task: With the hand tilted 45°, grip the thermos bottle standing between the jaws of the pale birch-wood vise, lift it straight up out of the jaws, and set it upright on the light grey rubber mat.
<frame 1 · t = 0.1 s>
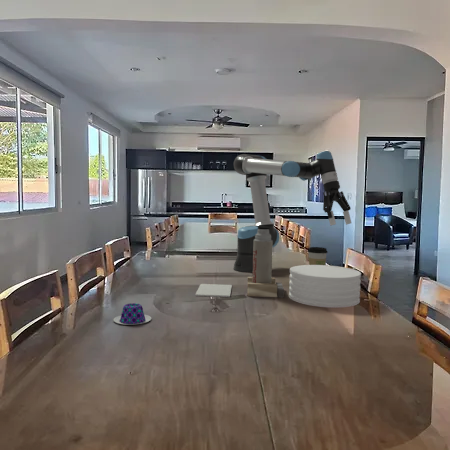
hand: (341, 224, 204), 28 cm above the table, tool tilted 20°, fingers open, 13 cm apart
pudding: (132, 321, 138), on the table
thermos bottle: (261, 292, 180), resting in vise
grey mat: (214, 290, 181), on the table
coffee cup: (316, 277, 215), on the table
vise: (261, 292, 180), on the table
plate stack: (323, 299, 173), on the table
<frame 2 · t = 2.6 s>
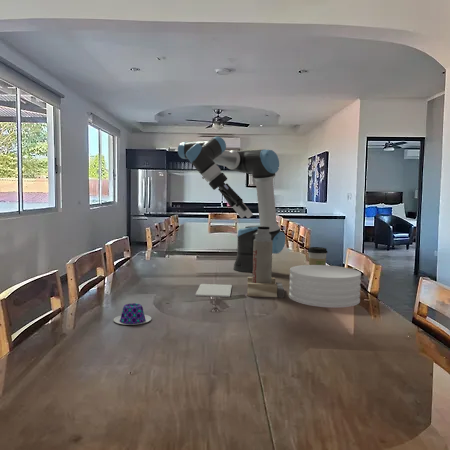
hand: (247, 216, 178), 32 cm above the table, tool tilted 40°, fingers open, 13 cm apart
nothing on the table moved.
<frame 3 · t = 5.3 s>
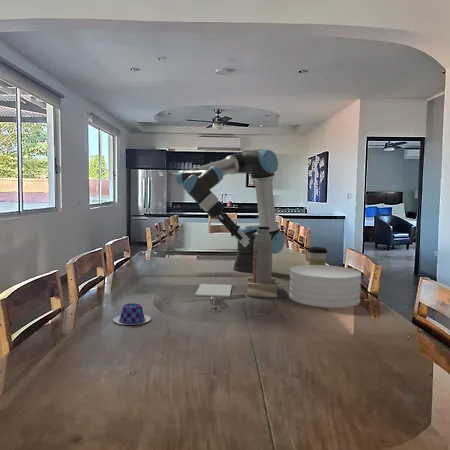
hand: (247, 243, 178), 21 cm above the table, tool tilted 45°, fingers open, 13 cm apart
nothing on the table moved.
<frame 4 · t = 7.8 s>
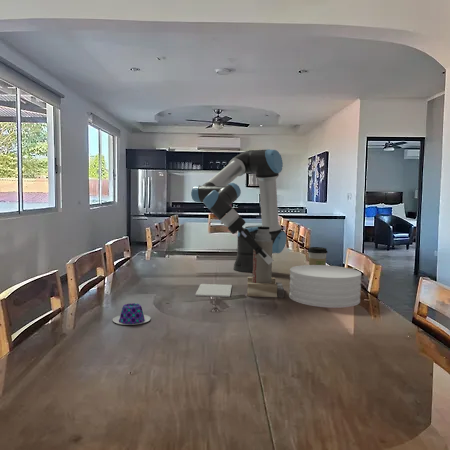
hand: (270, 260, 179), 14 cm above the table, tool tilted 45°, fingers closed on thermos bottle, 8 cm apart
thermos bottle: (261, 292, 180), resting in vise, touching gripper
everything else where it was.
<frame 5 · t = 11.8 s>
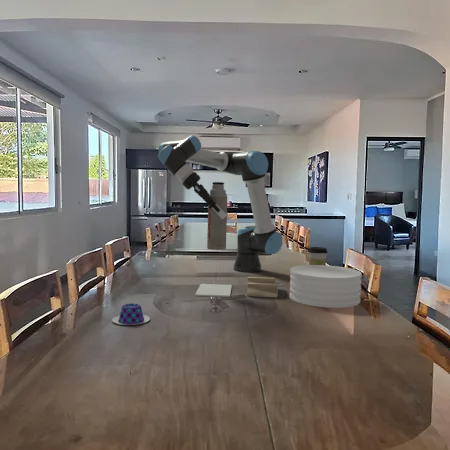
hand: (225, 216, 179), 32 cm above the table, tool tilted 45°, fingers closed on thermos bottle, 8 cm apart
thermos bottle: (216, 249, 180), point 18 cm above the table, touching gripper
everything else where it was.
when the fingers open (16 cm above the table, at t = 15.8 s): thermos bottle drops 1 cm, resting on grey mat.
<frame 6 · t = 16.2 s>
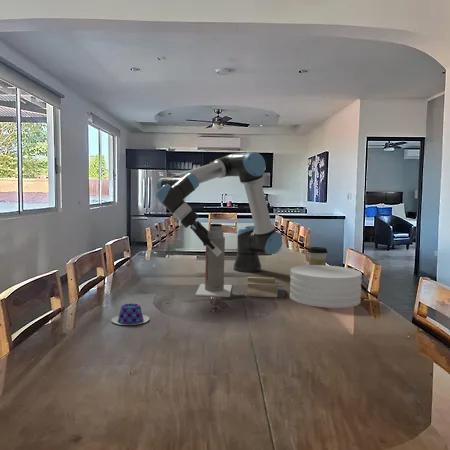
hand: (220, 252, 180), 17 cm above the table, tool tilted 45°, fingers open, 13 cm apart
thermos bottle: (214, 289, 181), resting on grey mat
everything else where it was.
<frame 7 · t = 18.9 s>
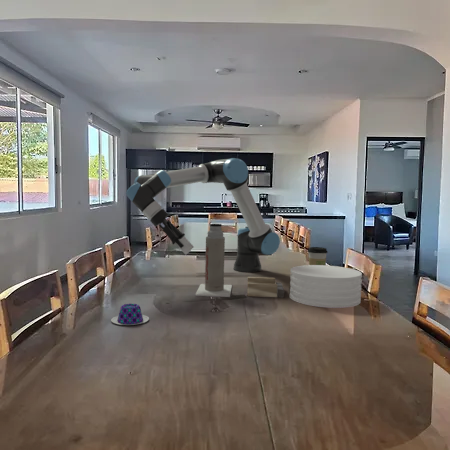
hand: (190, 250, 181), 17 cm above the table, tool tilted 45°, fingers open, 13 cm apart
nothing on the table moved.
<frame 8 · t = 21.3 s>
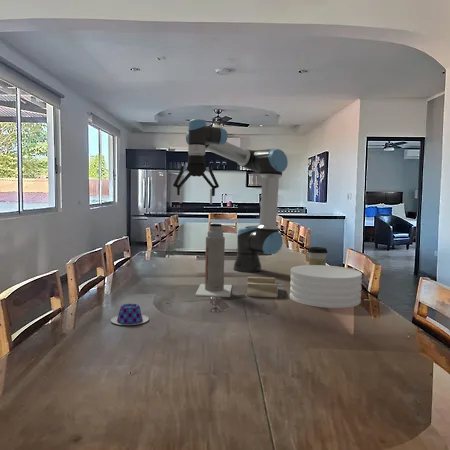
hand: (195, 203, 190), 37 cm above the table, tool pointing down, fingers open, 13 cm apart
at the end: thermos bottle inside the target area on the grey mat (0.1 cm from its centre), point 0.4 cm above the grey mat's base; thermos bottle tilted 0°; the gripper is holding nothing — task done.
